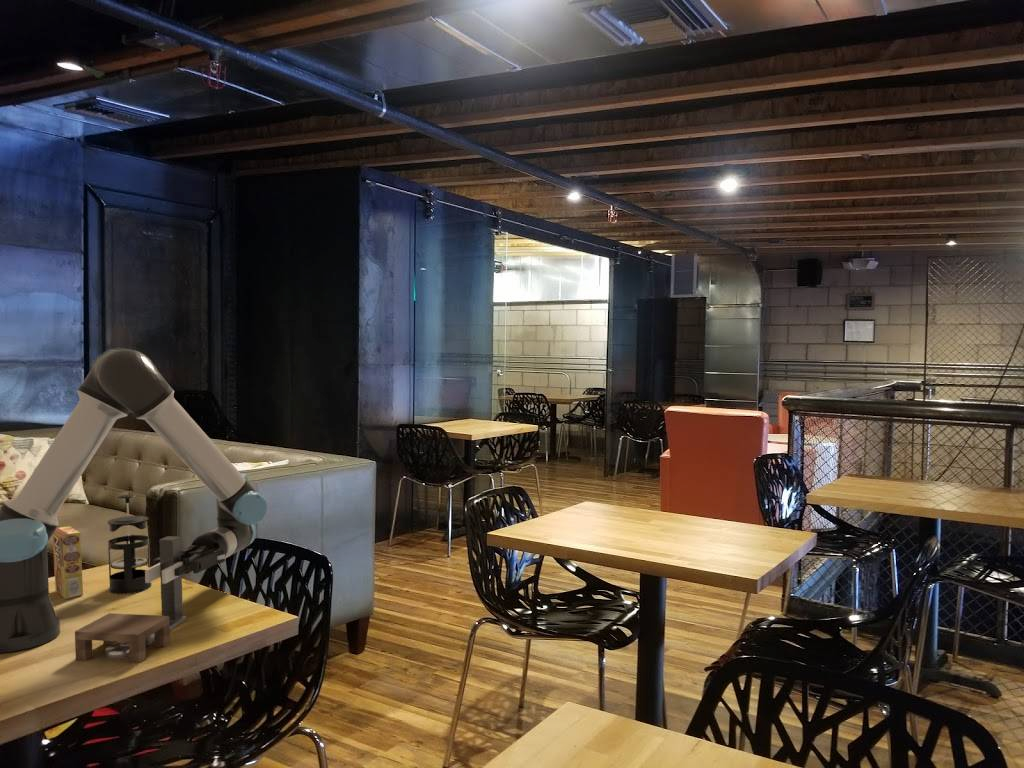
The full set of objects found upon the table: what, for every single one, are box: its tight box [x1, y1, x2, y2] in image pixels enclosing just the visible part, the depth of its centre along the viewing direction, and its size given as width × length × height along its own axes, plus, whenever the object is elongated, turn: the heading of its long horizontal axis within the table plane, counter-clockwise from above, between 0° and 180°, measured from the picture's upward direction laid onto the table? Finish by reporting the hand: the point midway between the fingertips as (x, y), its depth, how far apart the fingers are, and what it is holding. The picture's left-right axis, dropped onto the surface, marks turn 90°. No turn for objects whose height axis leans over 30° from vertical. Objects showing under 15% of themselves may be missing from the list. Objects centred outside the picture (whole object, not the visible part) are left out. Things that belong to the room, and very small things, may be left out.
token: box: [105, 642, 129, 660], centre depth 151 cm, size 5×5×2 cm
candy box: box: [51, 526, 84, 600], centre depth 187 cm, size 9×4×15 cm, turn 44°
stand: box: [74, 612, 171, 664], centre depth 152 cm, size 13×10×6 cm
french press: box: [107, 493, 152, 595], centre depth 191 cm, size 12×9×23 cm
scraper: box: [145, 535, 187, 647], centre depth 162 cm, size 6×15×18 cm, turn 172°
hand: (155, 576), depth 162 cm, fingers closed on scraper, 3 cm apart
